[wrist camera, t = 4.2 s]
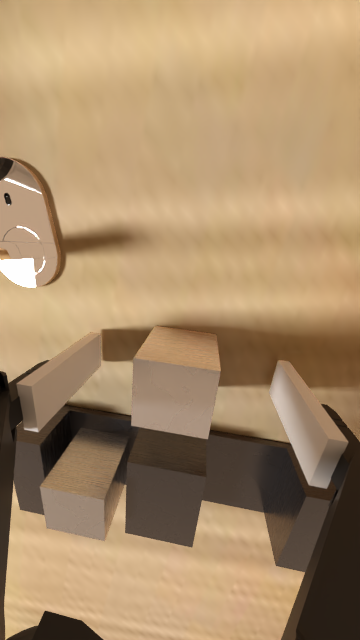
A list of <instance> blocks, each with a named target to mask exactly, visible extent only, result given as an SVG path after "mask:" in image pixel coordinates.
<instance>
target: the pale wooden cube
mask: <svg viewBox="0 0 360 640" xmlns="http://www.w3.org/2000/svg"><path fill="white" fill-rule="evenodd" d="M220 373H221V369H220V360H219V351H218V343H217V334H213V333H205V332H198V331H191V330H184V329H176V328H169V327H162V326H155V327H154V328H153V330H152V331H151V333H150V334H149V336H148V337H147V339H146V340H145V342H144V343H143V345H142V346H141V348H140V349H139V351H138V352H137V353H136V355H135V356H134V358H133V388H132V418H131V426H136V427H142V428H147V429H153V430H158V431H164V432H170V433H175V434H181V435H186V436H192V437H198V438H203V439H208V436H209V431H210V426H211V420H212V415H213V410H214V405H215V399H216V394H217V389H218V384H219V378H220Z"/></svg>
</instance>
